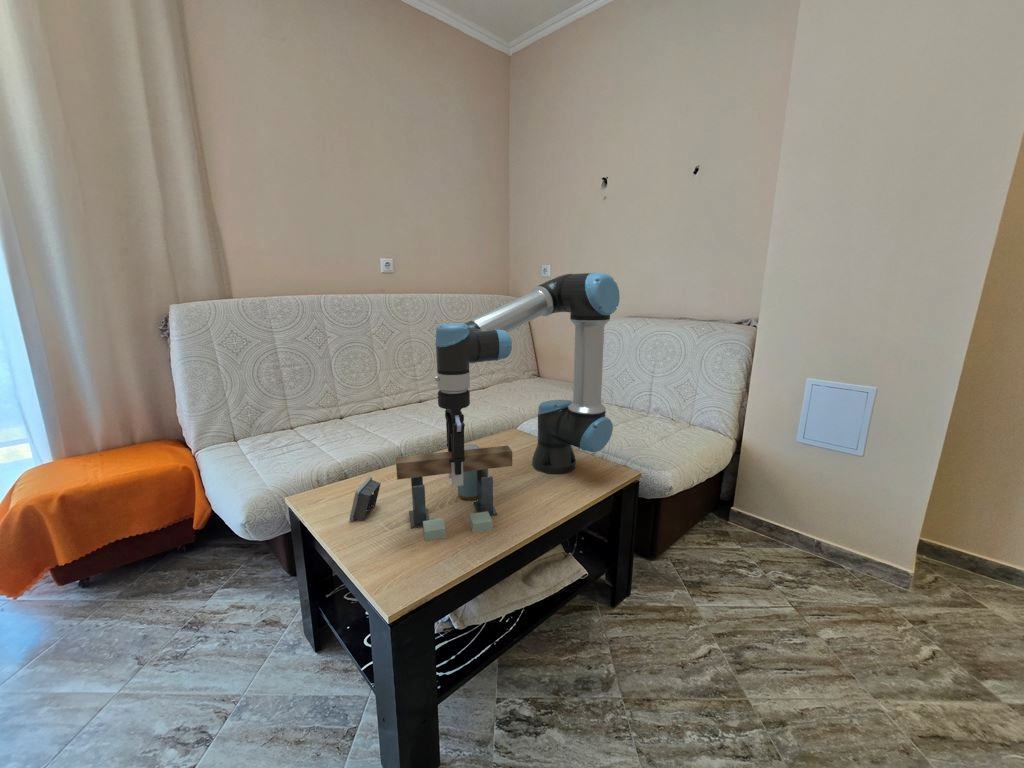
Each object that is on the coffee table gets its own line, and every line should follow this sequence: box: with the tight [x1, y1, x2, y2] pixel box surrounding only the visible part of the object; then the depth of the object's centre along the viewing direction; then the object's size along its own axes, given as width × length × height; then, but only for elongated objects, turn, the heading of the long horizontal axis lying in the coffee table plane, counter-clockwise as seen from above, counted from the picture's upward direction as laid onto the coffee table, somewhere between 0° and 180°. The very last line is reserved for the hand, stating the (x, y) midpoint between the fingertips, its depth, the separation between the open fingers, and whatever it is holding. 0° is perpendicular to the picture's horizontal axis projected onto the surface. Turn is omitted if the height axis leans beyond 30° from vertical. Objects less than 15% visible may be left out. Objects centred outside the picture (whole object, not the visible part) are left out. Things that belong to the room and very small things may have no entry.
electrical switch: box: [349, 476, 381, 522], centre depth 114 cm, size 9×5×9 cm, turn 176°
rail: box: [395, 445, 513, 480], centre depth 102 cm, size 28×4×4 cm, turn 107°
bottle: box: [457, 444, 480, 501], centre depth 123 cm, size 7×7×15 cm
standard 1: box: [408, 477, 431, 530], centre depth 110 cm, size 5×8×11 cm, turn 17°
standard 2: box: [473, 469, 498, 517], centre depth 115 cm, size 5×8×11 cm, turn 17°
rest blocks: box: [422, 511, 494, 542], centre depth 106 cm, size 17×5×2 cm, turn 107°
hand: (456, 481), depth 104 cm, fingers closed on rail, 4 cm apart
